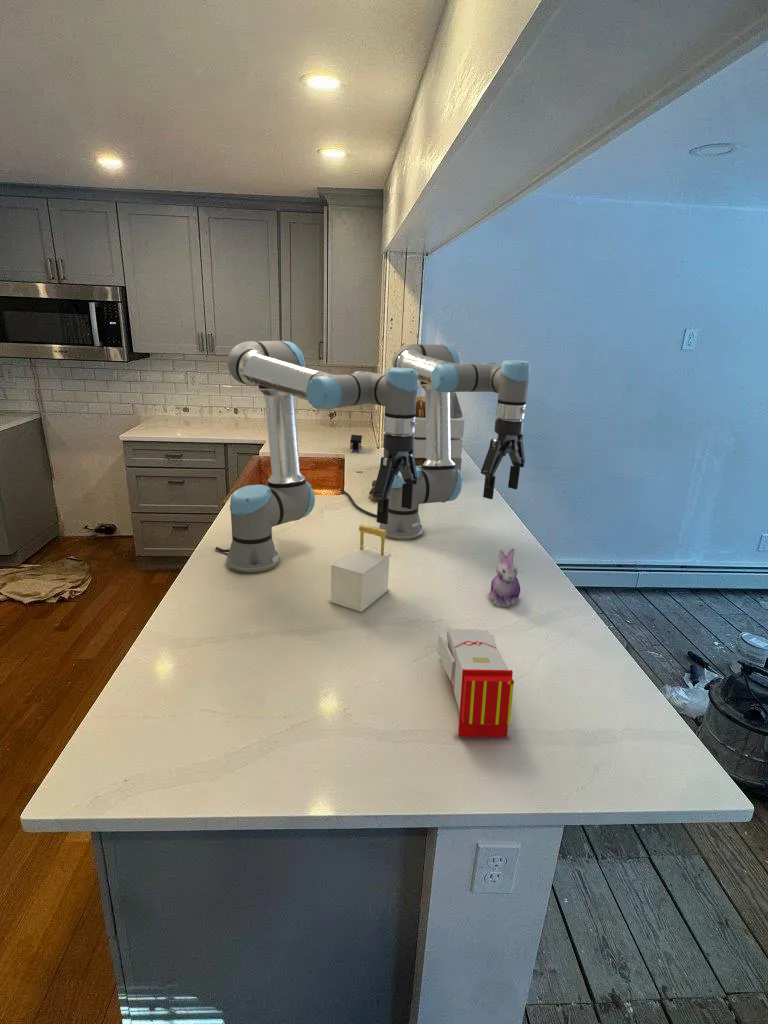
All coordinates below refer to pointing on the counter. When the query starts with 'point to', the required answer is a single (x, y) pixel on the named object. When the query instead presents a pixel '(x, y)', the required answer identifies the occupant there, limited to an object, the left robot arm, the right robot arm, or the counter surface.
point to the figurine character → (355, 442)
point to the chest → (359, 586)
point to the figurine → (505, 581)
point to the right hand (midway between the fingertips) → (500, 493)
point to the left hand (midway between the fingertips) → (394, 515)
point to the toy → (478, 682)
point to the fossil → (372, 492)
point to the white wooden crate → (455, 431)
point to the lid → (363, 554)
